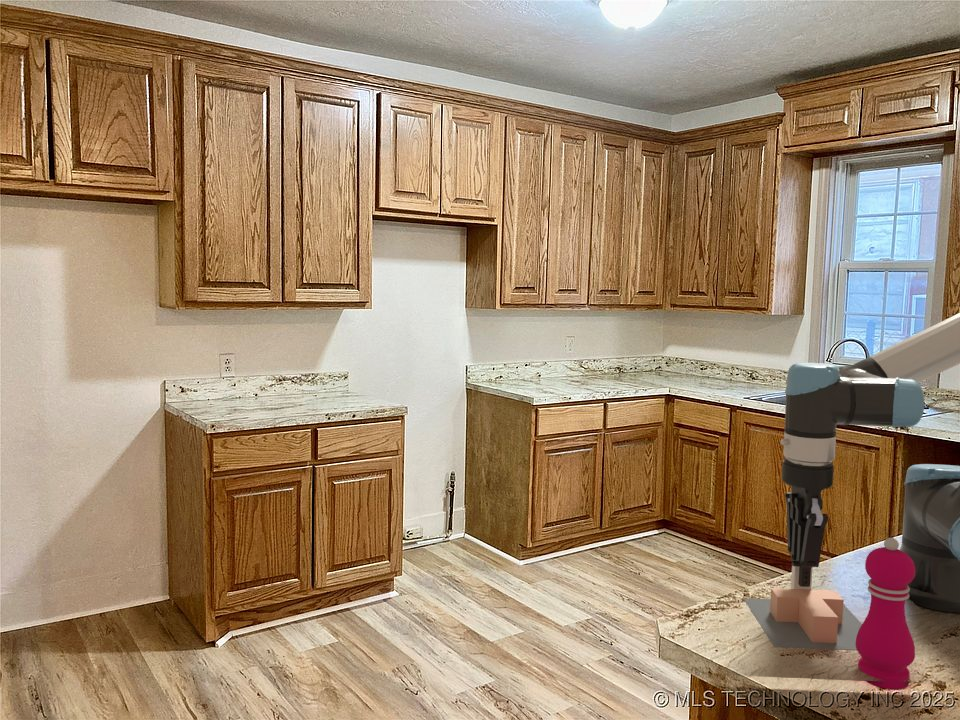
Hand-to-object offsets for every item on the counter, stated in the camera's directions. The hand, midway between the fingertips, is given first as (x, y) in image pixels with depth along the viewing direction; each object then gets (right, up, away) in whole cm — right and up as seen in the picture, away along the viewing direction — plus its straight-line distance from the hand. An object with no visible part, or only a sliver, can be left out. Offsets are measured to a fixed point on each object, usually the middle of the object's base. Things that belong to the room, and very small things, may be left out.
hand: (800, 602), depth 122 cm
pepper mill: (+4, -5, -18) cm, 19 cm away
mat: (0, -3, -4) cm, 5 cm away
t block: (0, -2, -6) cm, 6 cm away
